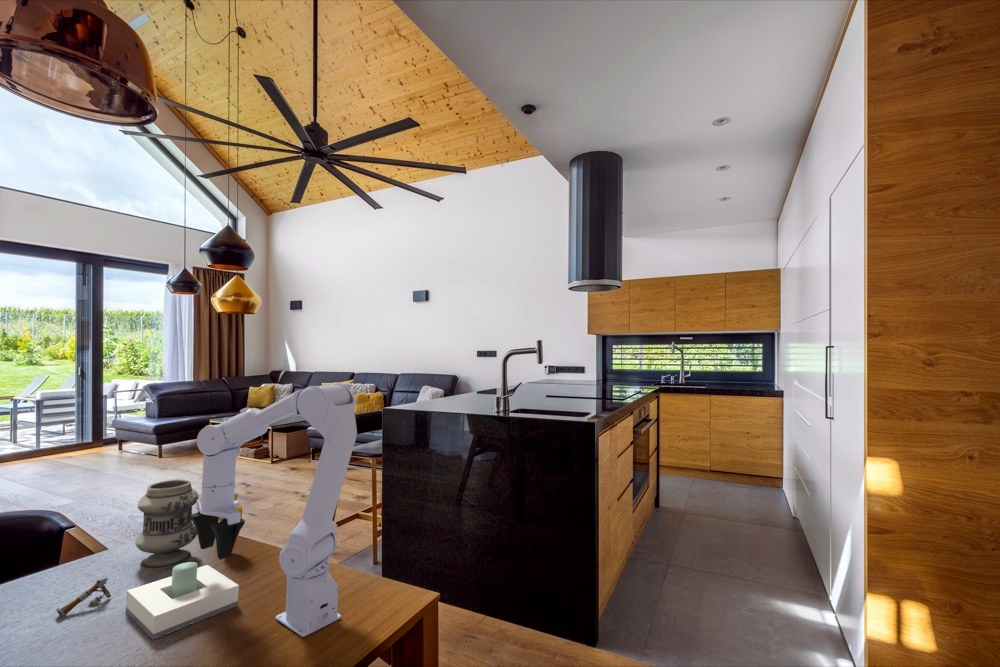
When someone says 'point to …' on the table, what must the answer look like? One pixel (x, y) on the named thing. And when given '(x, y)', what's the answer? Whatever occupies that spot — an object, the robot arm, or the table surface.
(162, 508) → the apothecary jar
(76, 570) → the table surface
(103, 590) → the wooden post with brackets
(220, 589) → the socket block
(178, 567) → the peg
